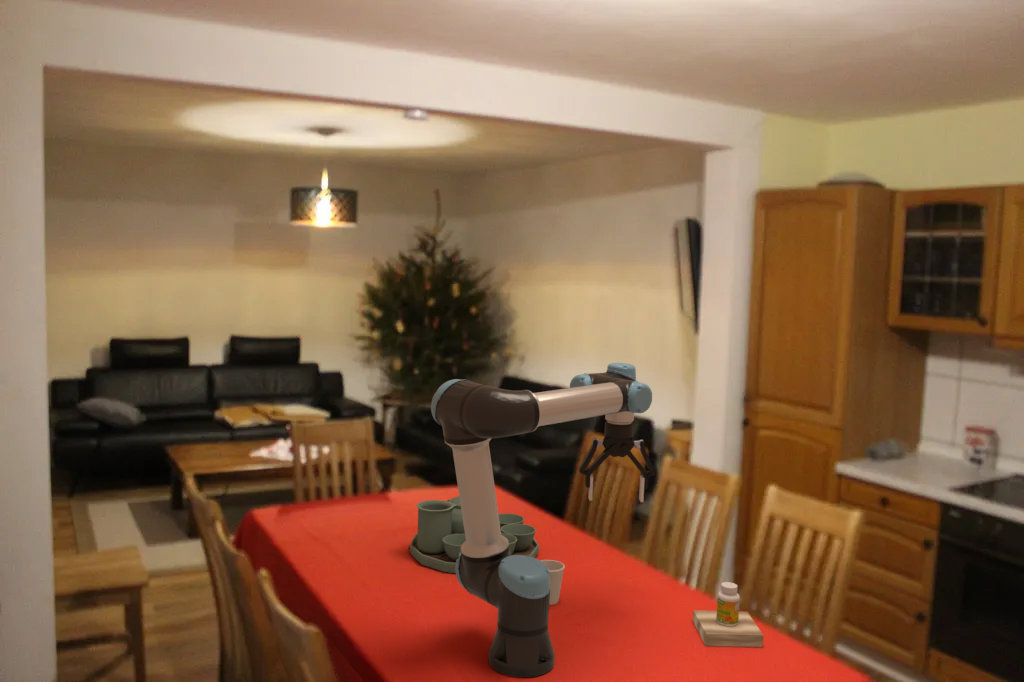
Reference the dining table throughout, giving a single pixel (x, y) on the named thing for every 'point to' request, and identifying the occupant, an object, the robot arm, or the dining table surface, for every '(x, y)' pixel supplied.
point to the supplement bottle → (728, 605)
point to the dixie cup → (554, 579)
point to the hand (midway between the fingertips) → (615, 500)
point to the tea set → (461, 534)
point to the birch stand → (727, 630)
